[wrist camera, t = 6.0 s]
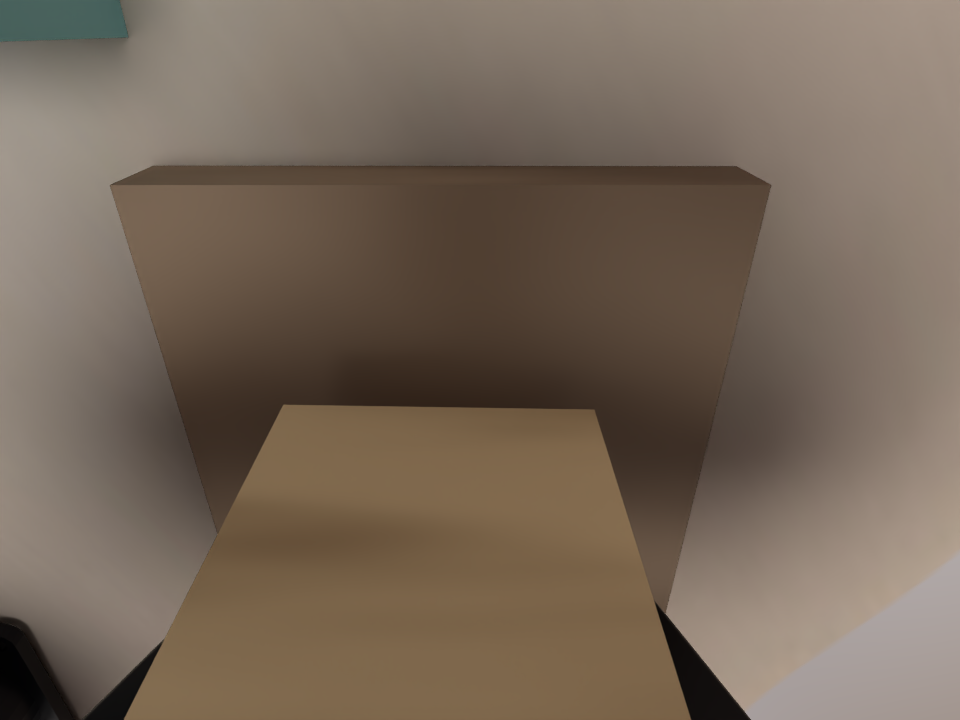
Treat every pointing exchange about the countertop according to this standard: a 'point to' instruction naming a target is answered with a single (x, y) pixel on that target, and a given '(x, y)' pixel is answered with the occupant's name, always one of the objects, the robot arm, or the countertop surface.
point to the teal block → (61, 19)
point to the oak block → (420, 578)
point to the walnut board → (452, 305)
